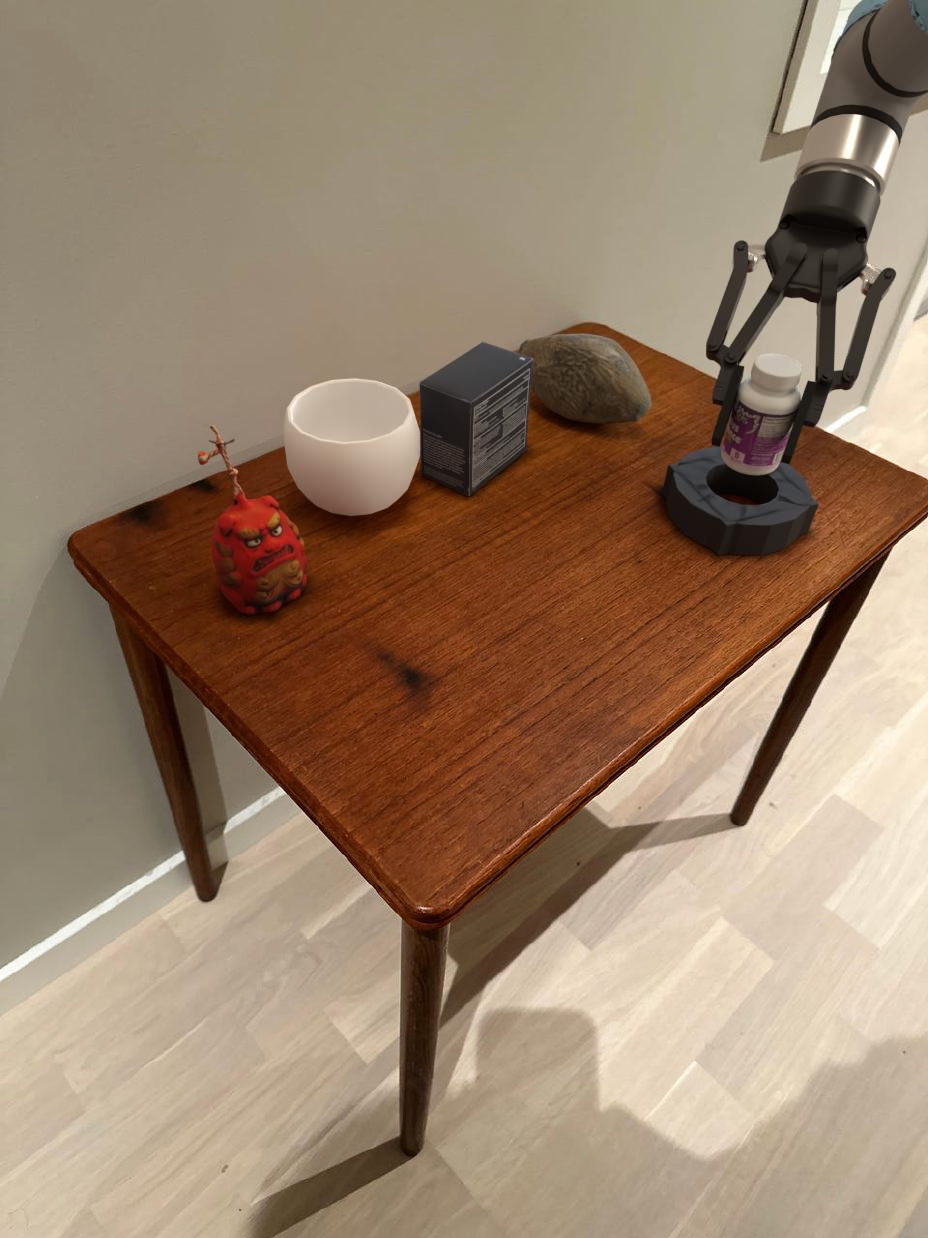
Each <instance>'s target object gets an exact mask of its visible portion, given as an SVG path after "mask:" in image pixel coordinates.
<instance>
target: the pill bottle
mask: <svg viewBox="0 0 928 1238" xmlns="http://www.w3.org/2000/svg"><path fill="white" fill-rule="evenodd" d="M802 373H803V365H802V364H801V363H800V362H799V361H798V360H797V359H795V358H793V357H791V356H789V355H785V354H781V353H771V352H770V353H764V354H760V355H759V356H757V357H756V358H755V359H754V361H753V364H752V367H751V370H750V376H748V377H747V378H745V379H744V380H742V381H741V384H740V386H739V388H738V391H737V394H736V398H735V402H734V405H733V408H732V412H731V415H730V418H729V421H728V424H727V427H726V430H725V434H724V437H723V441H722V446H721V447H722V450H721V457H722V459H723V461H724V462H725V464H726V465H727V466H729V467H730V468H732V469H733V470H735V471H737V472H740V473H743V474H748V475H764V474H768V473H771V472H773V471H774V470H775V469H776V468H777V467H778V465H779V463H780V460H781V459H782V456H783V453H784V450H785V447H786V444H787V441H788V438H789V435H790V432H791V429H792V426H793V423H794V420H795V417H796V414H797V411H798V408H799V405H800V402H801V399H802V395H801V391H800V389H799V388H798V385H799V383H800V381H801V377H802Z"/></svg>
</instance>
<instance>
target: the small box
mask: <svg viewBox="0 0 928 1238" xmlns="http://www.w3.org/2000/svg"><path fill="white" fill-rule="evenodd" d="M532 364H533V358H530V357H527V356H524V355H521V354H520V353H518V352H515V351H512V350H509V349H507V348H503V347H500V346H497V345H494V344H491V343H489V342H485V341H481V342H480V343H478V344H477V345H476V346H474V347H472V348H470V350H468V351H466V352H465V353H463V354H462V355H460V356H458V357H457V358H455V359H454V360H452V361H451V362H449V363H447V364H446V365H444V366H443V367H441V368H439V369H438V370H437V371H435V372H434V373H432V374H430V375H429V376H427V377H426V378H423V379H422V380H421V381H419V382H418V384H419V414H420V415H419V420H420V421H419V422H420V423H419V425H420V426H419V427H420V428H419V430H420V473H421V474H420V475H421V476H422V477H425V478H426V479H429V480H431V481H433V482H435V483H437V484H439V485H442V486H444V487H446V488H448V489H451V490H453V491H455V492H457V493H460V494H462V495H464V496H465V497H471V496H472V495H473V494H475V493H476V492H477V491H479V490H480V489H481V488H482V487H483V486H485V485H486V484H488V482H490V481H491V480H492V479H494V478H495V477H496V476H497V475H498V474H500V473H501V472H502V471H504V470H505V469H506V468H507V467H508V466H509V465H511V464H512V463H513V462H515V460H517V459H518V458H520V457H521V456H522V455H523V454H524V453H525V452H527V450H528V432H529V429H528V428H529V416H530V415H529V414H530V403H531V390H532V386H531V377H532Z"/></svg>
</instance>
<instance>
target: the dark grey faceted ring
mask: <svg viewBox="0 0 928 1238" xmlns="http://www.w3.org/2000/svg"><path fill="white" fill-rule="evenodd" d="M721 450H722V446H720V447H717V446H711V447H706V448H702V449H698V450H697V449H696V450H693V451H692V452H690V453H689V454H687V455H686V456H684V457H682V458H680V459H679V460H678V462H675V463H670V464H668V465H667V469H666V474H665V478H664V482H663V486H662V491H661V496H663V498H664V499H665V500H666V501H665V504H666V508H667V512H668V516H669V517H668V518H669V519H670V521H671V522H672V523H673V524H674V525H675V526H676V527H677V529H678V530H679V531H680V532H681V533H682V534H683V535H685V536H686V537H688V538H690V539H691V540H693V541H695V542H697V543H698V544H700V545H702V546H703V547H706V548H708V549H711V550H712V552H713V553H714V554H715V555H716V556H723V555H726V554H729V555H736V556H764V555H768V554H771V553H775V552H780V551H783V550H785V549H786V548H787V547H789V546H790V545H791V544H792V543H794V542H795V541H796V540H797V539H798V538H799V536H803V535H807V534H808V533H809V531H810V529H811V526H812V523H813V521H814V518H815V515H816V514H817V513H816V512H817V510H818V508H819V504H820V503H819V502H818V501H817V500H815V499H814V498H813V493H812V491H811V489H810V486H809V485H808V482H807V480H806V478H805V477H804V476H803V475H802V474H801V473H799V472H798V471H797V470H796V469H795V468H794V467H793V466H792V465H791V464H786V463H782V462H781V460H780V463H779V465H778V467H777V468H776V469H775V470H774V471H773V472H771V473H768V474H764V475H748V474H743V473H740V472H737V471H735V470H733V469H732V468H730V467H729V466H727V465H726V464H725V462H724V461H723V459H722V457H721ZM718 494H733V495H738V496H741V497H745V498H748V499H749V500H752V501H753V502H755V503H757V504H755V505H753V504H741V503H737V502H733V501H729V500H727V499H725V498H723V497H721V496H719V495H718Z"/></svg>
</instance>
